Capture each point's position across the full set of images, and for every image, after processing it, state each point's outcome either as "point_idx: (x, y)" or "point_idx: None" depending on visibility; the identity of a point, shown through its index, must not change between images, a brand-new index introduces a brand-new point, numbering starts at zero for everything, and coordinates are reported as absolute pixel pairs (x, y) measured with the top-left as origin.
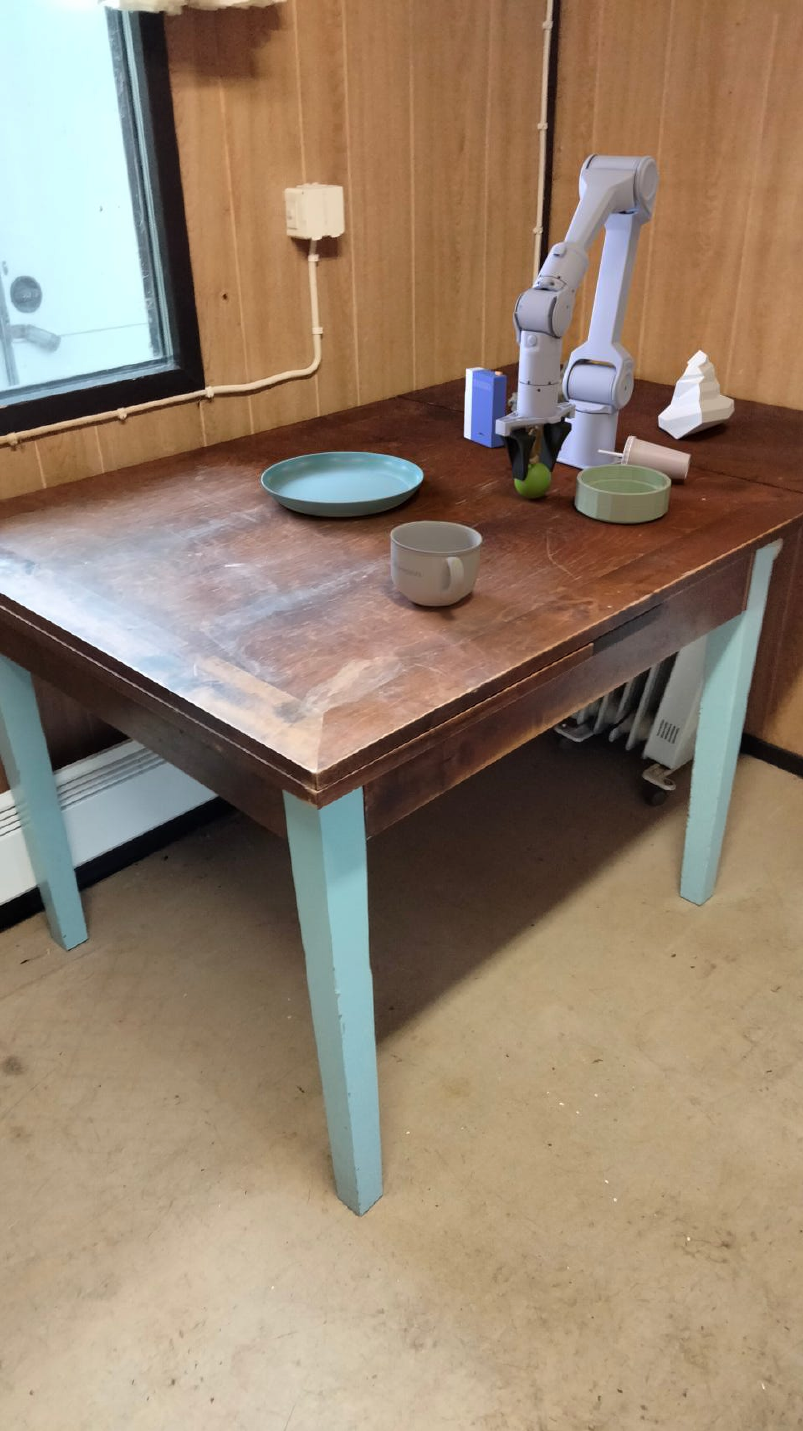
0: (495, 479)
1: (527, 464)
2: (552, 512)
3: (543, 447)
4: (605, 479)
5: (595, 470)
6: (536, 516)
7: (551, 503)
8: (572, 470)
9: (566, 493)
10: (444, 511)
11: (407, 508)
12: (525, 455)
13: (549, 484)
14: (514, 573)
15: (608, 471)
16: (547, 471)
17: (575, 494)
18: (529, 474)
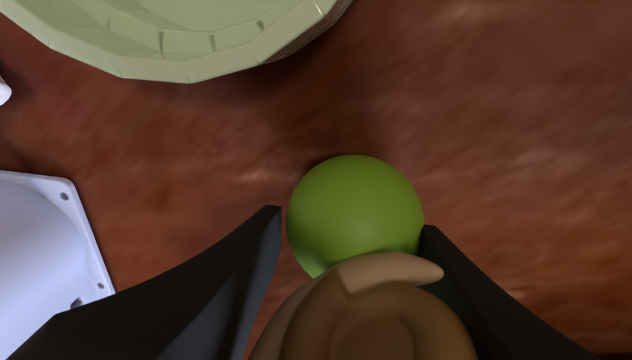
0: None
1: (455, 263)
2: (428, 55)
3: (249, 312)
4: (112, 25)
5: (131, 54)
6: (502, 73)
7: (351, 116)
8: (111, 227)
9: (245, 137)
10: (597, 289)
11: (615, 349)
12: (517, 309)
13: (338, 158)
14: None
15: (68, 20)
16: (336, 194)
17: (336, 16)
18: (414, 228)
